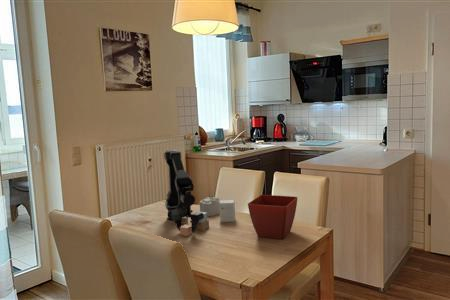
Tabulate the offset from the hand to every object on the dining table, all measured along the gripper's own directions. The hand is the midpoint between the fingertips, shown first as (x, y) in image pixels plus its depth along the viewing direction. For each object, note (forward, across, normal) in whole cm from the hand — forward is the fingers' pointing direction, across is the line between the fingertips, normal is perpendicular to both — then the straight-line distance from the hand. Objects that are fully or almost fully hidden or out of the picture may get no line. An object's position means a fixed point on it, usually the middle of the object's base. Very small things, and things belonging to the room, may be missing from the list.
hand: (186, 231), depth 197 cm
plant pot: (+1, +40, +17) cm, 43 cm away
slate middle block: (-3, +2, +10) cm, 11 cm away
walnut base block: (+1, +2, +10) cm, 10 cm away
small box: (+1, +8, +27) cm, 28 cm away
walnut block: (+1, -11, +12) cm, 16 cm away
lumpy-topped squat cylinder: (+1, -8, +36) cm, 37 cm away
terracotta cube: (+1, 0, 0) cm, 1 cm away
